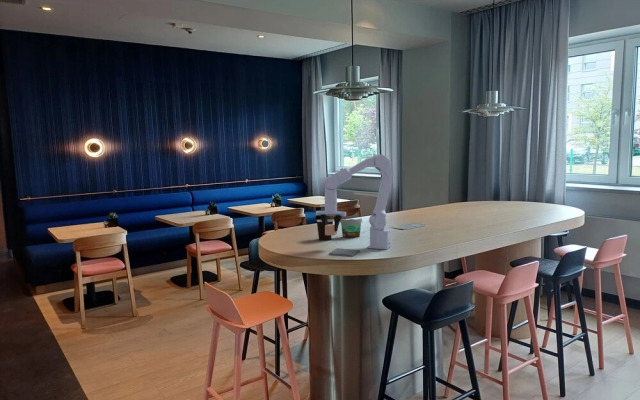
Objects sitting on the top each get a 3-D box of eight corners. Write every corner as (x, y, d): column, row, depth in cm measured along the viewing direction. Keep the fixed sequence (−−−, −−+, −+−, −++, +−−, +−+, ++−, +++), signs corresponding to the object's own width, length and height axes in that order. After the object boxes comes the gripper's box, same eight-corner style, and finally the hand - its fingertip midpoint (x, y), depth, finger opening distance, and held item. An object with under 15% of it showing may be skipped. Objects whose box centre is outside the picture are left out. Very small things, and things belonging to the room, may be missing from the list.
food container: (342, 239, 246) (342, 220, 245) (339, 237, 252) (339, 218, 251) (365, 237, 248) (365, 219, 247) (361, 235, 254) (361, 217, 253)
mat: (359, 251, 215) (359, 249, 215) (352, 256, 205) (352, 254, 205) (336, 249, 219) (336, 248, 219) (328, 254, 209) (328, 253, 209)
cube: (337, 233, 222) (336, 224, 222) (333, 235, 218) (333, 226, 218) (328, 233, 224) (328, 224, 223) (325, 234, 220) (324, 225, 219)
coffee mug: (323, 241, 239) (323, 222, 238) (313, 239, 246) (313, 220, 245) (341, 239, 246) (341, 220, 245) (331, 236, 253) (330, 218, 252)
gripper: (313, 202, 218) (313, 231, 220) (342, 203, 213) (342, 233, 215) (318, 201, 225) (319, 229, 226) (347, 202, 220) (347, 230, 221)
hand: (331, 230), depth 221 cm, fingers closed on cube, 4 cm apart
